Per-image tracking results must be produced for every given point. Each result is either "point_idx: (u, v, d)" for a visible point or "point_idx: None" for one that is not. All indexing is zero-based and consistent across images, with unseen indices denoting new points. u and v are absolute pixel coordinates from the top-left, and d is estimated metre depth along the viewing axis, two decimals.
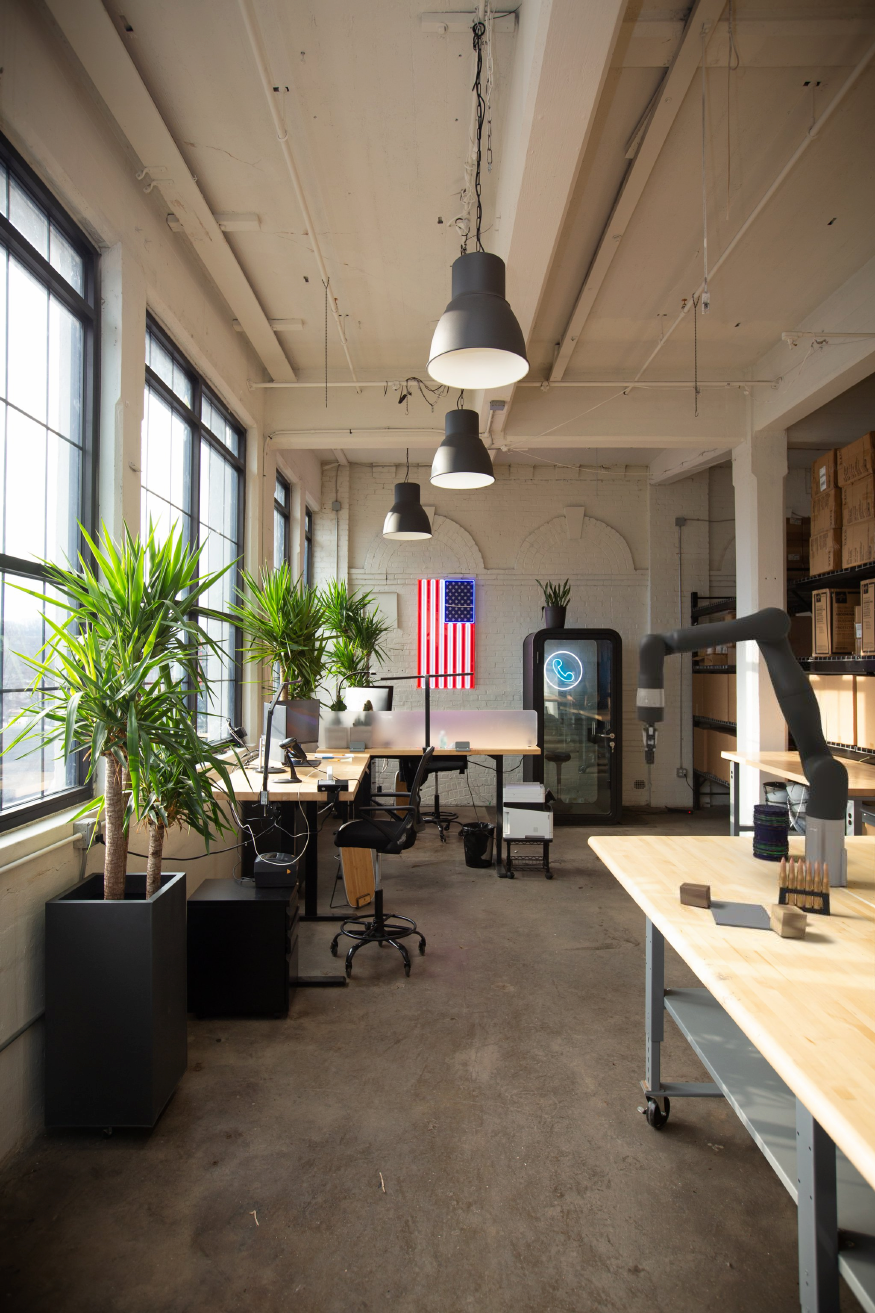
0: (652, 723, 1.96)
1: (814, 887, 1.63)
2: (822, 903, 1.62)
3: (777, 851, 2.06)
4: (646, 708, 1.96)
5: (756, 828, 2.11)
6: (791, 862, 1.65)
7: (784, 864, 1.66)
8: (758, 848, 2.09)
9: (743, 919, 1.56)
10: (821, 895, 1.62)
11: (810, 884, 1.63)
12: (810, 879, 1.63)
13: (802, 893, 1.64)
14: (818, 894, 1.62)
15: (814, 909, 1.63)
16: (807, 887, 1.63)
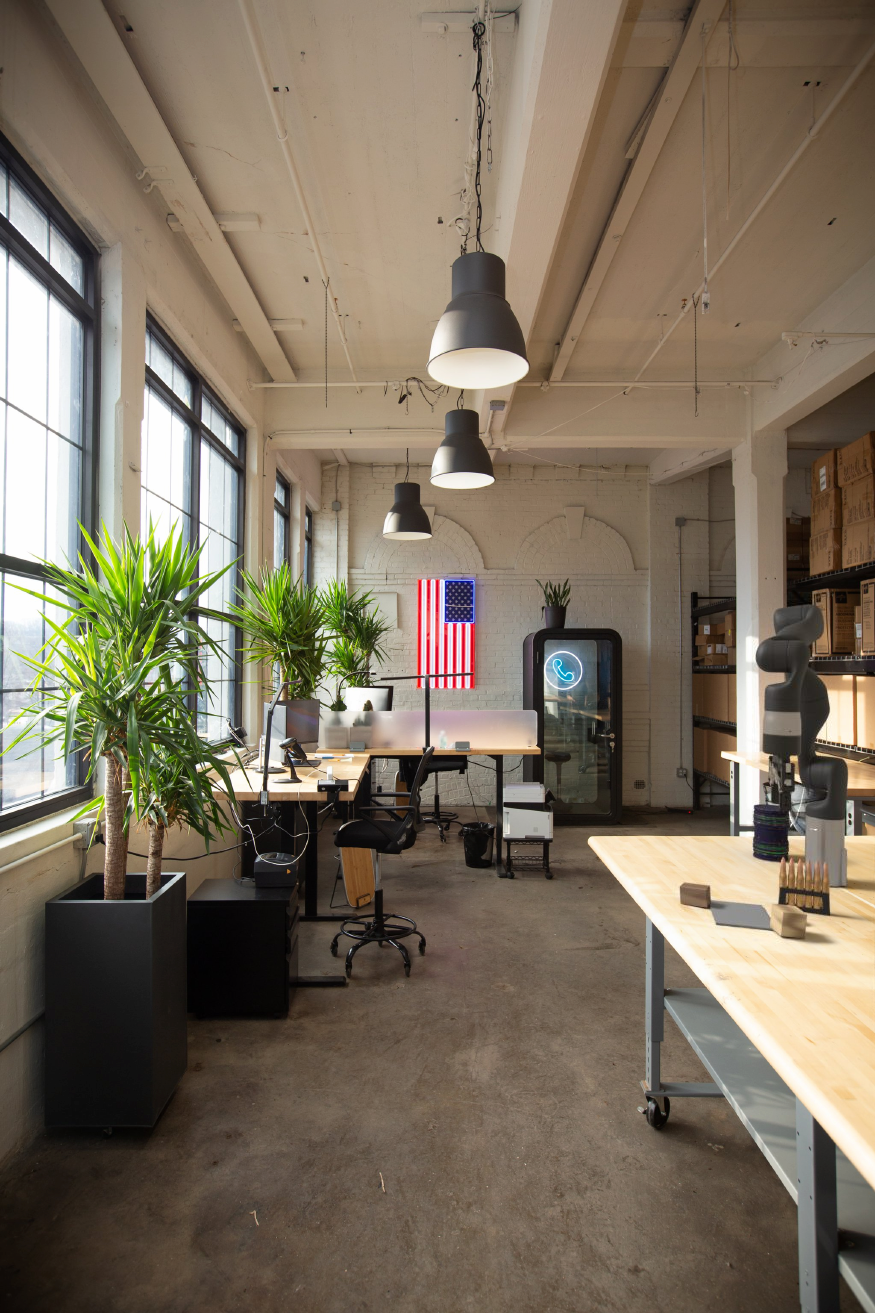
0: (787, 757, 1.50)
1: (814, 887, 1.63)
2: (822, 903, 1.62)
3: (777, 851, 2.06)
4: (779, 738, 1.50)
5: (756, 828, 2.11)
6: (791, 862, 1.65)
7: (784, 864, 1.66)
8: (758, 848, 2.09)
9: (743, 919, 1.56)
10: (821, 895, 1.62)
11: (810, 884, 1.63)
12: (810, 879, 1.63)
13: (802, 893, 1.64)
14: (818, 894, 1.62)
15: (814, 909, 1.63)
16: (807, 887, 1.63)
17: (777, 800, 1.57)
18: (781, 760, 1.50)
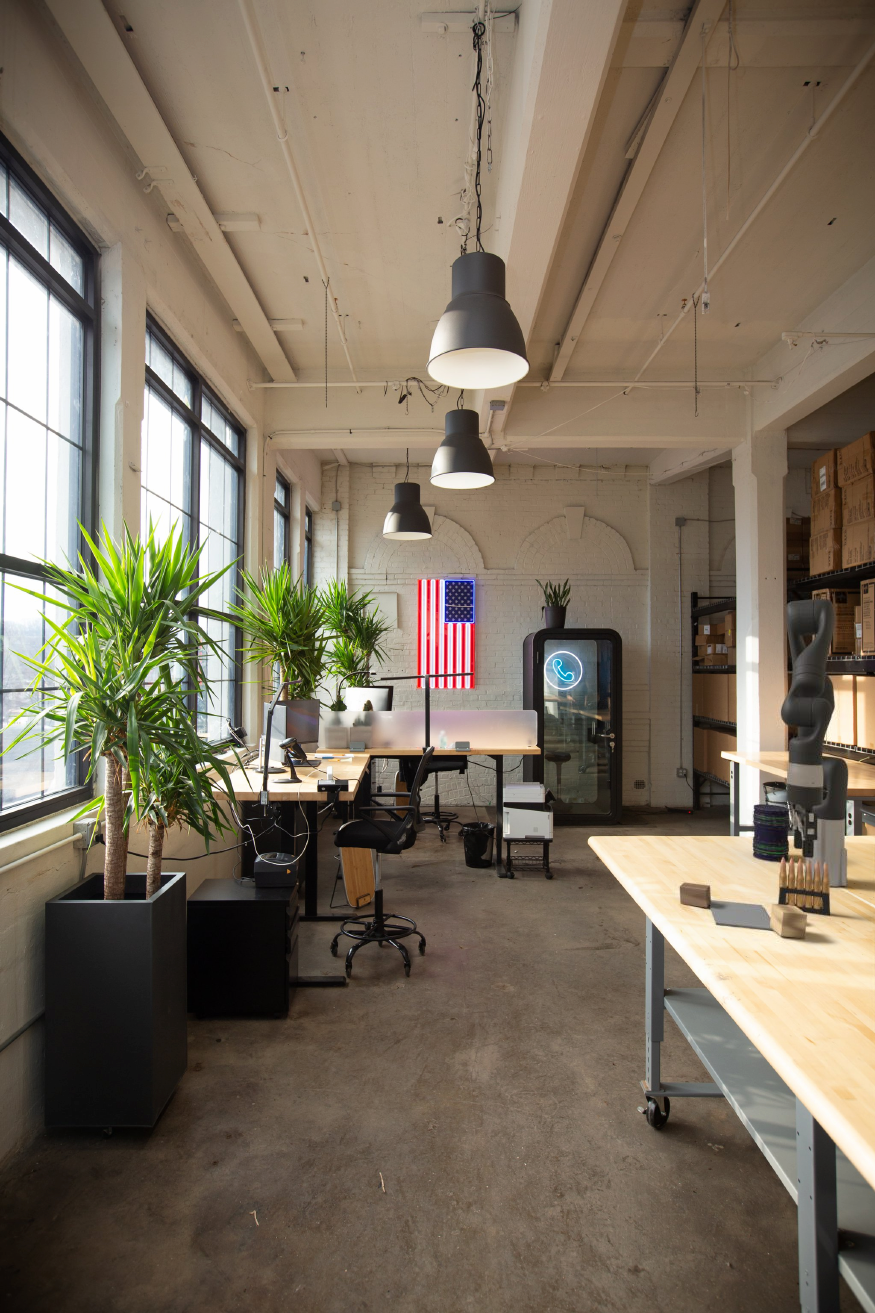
0: (810, 807, 1.61)
1: (814, 887, 1.63)
2: (822, 903, 1.62)
3: (777, 851, 2.06)
4: (803, 789, 1.62)
5: (756, 828, 2.11)
6: (791, 862, 1.65)
7: (784, 864, 1.66)
8: (758, 848, 2.09)
9: (743, 919, 1.56)
10: (821, 895, 1.62)
11: (810, 884, 1.63)
12: (810, 879, 1.63)
13: (802, 893, 1.64)
14: (818, 894, 1.62)
15: (814, 909, 1.63)
16: (807, 887, 1.63)
17: (799, 845, 1.68)
18: (804, 810, 1.61)
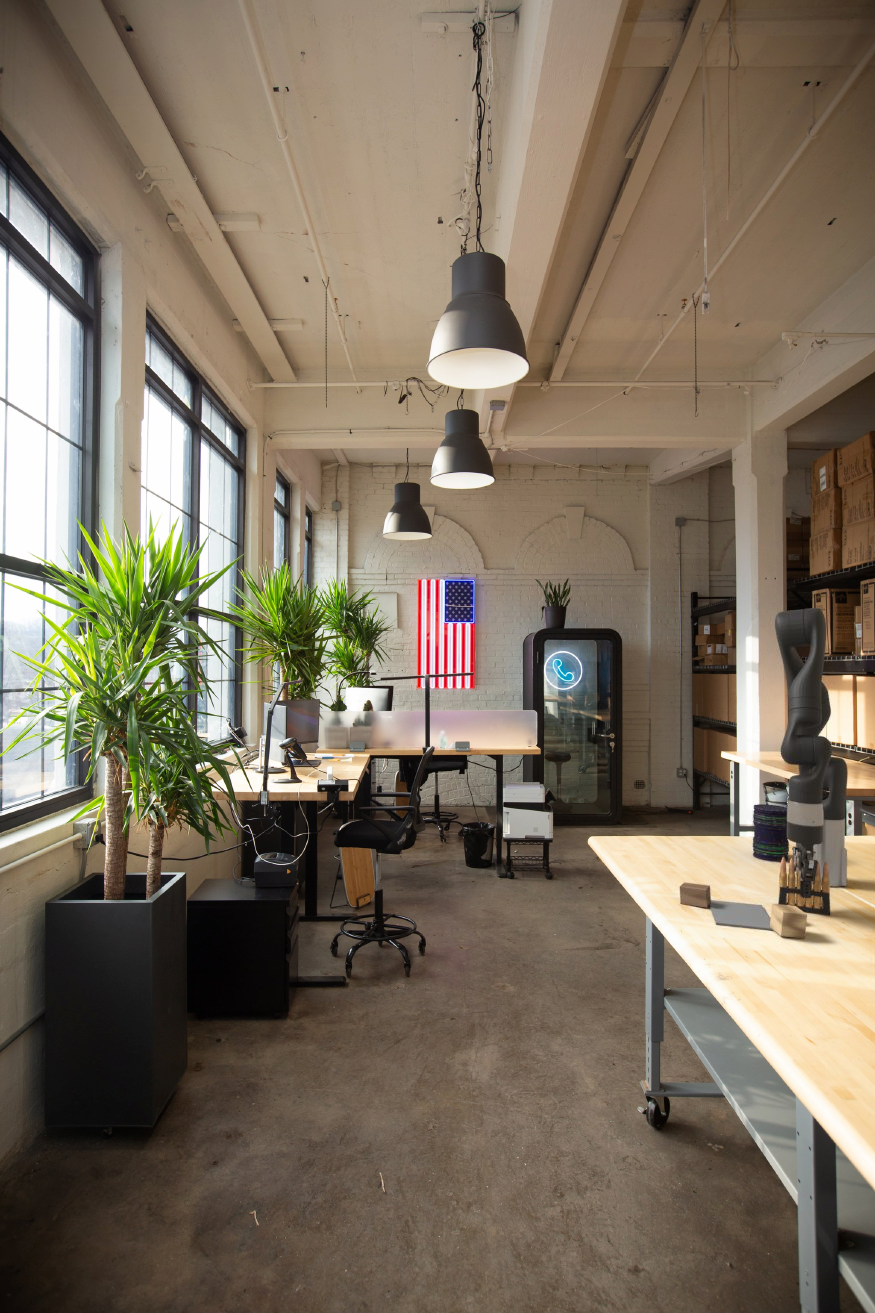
0: (811, 846, 1.61)
1: (814, 887, 1.63)
2: (822, 903, 1.62)
3: (777, 851, 2.06)
4: (803, 828, 1.61)
5: (756, 828, 2.11)
6: (791, 862, 1.65)
7: (784, 864, 1.66)
8: (758, 848, 2.09)
9: (743, 919, 1.56)
10: (821, 895, 1.62)
11: None
12: None
13: None
14: (818, 893, 1.62)
15: (814, 909, 1.63)
16: None
17: None
18: (805, 849, 1.61)
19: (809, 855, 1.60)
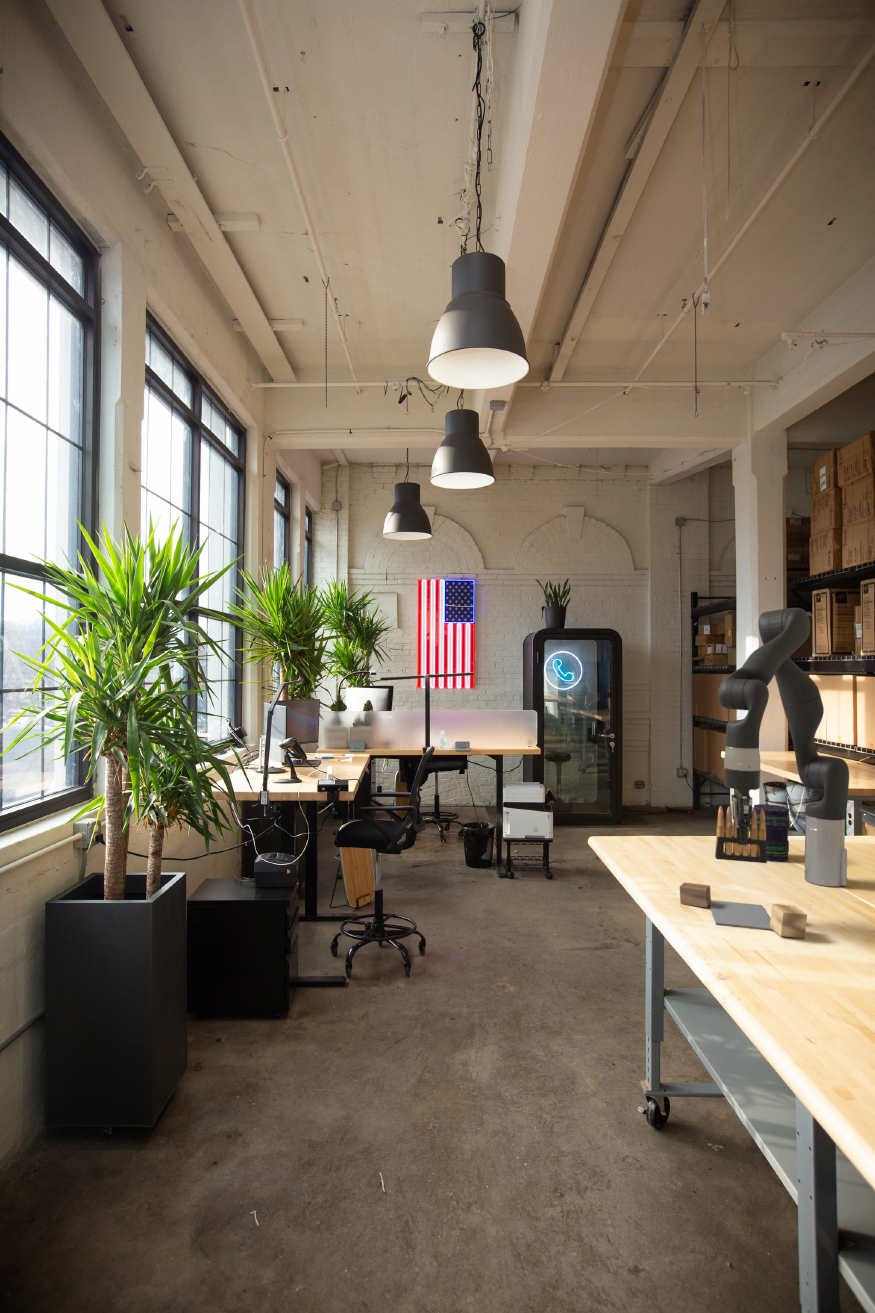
0: (747, 791, 1.57)
1: (751, 835, 1.60)
2: (759, 851, 1.59)
3: (777, 851, 2.06)
4: (739, 773, 1.58)
5: None
6: (728, 810, 1.61)
7: (721, 813, 1.61)
8: None
9: (743, 919, 1.56)
10: (758, 842, 1.59)
11: None
12: None
13: None
14: (755, 841, 1.59)
15: (751, 857, 1.59)
16: None
17: None
18: (741, 794, 1.57)
19: (744, 800, 1.56)
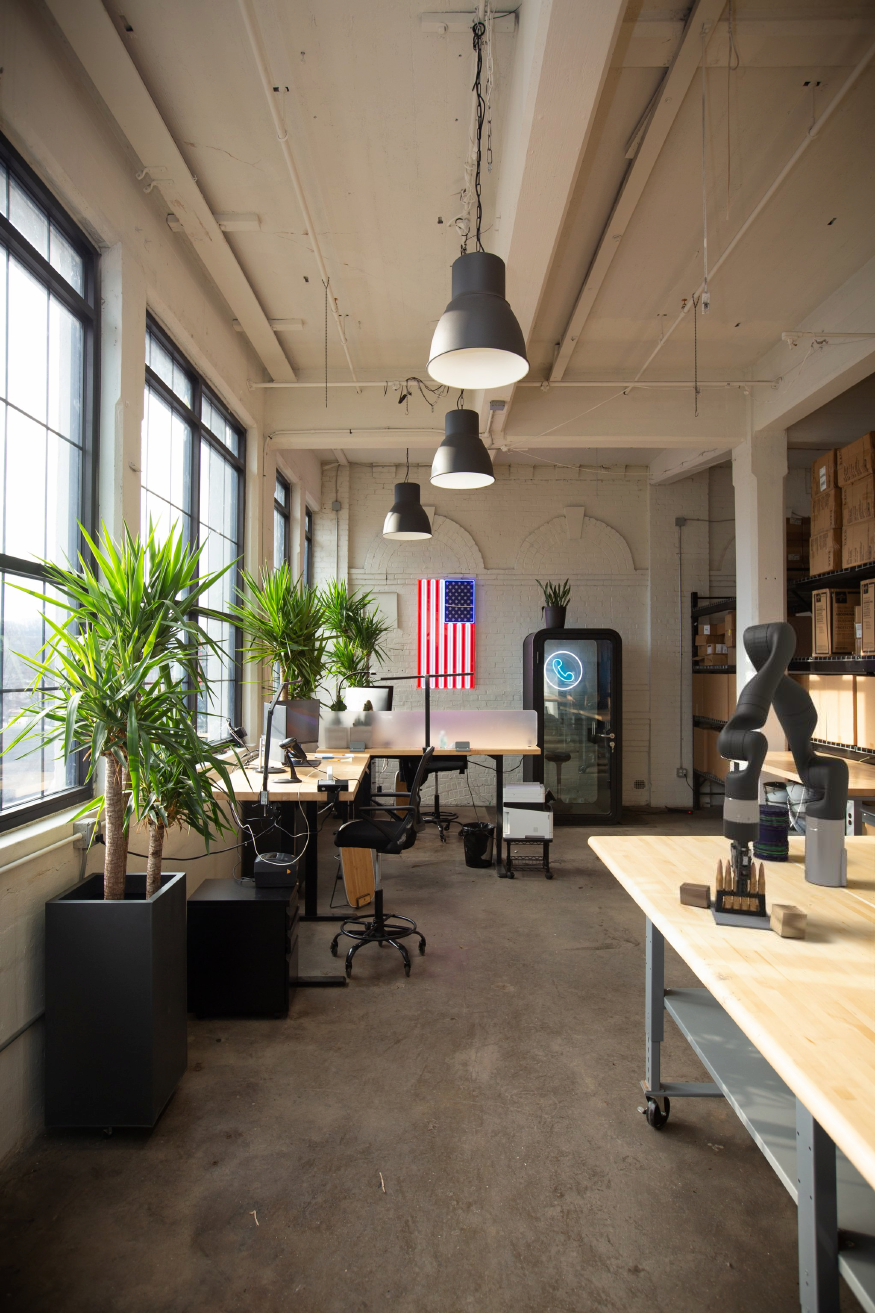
0: (746, 843, 1.57)
1: (750, 888, 1.59)
2: (758, 904, 1.59)
3: (777, 851, 2.06)
4: (738, 825, 1.57)
5: None
6: (728, 864, 1.61)
7: (721, 866, 1.61)
8: (758, 848, 2.09)
9: (743, 919, 1.56)
10: (757, 896, 1.59)
11: None
12: None
13: None
14: (754, 895, 1.59)
15: (750, 911, 1.59)
16: None
17: None
18: (740, 846, 1.57)
19: (744, 852, 1.56)
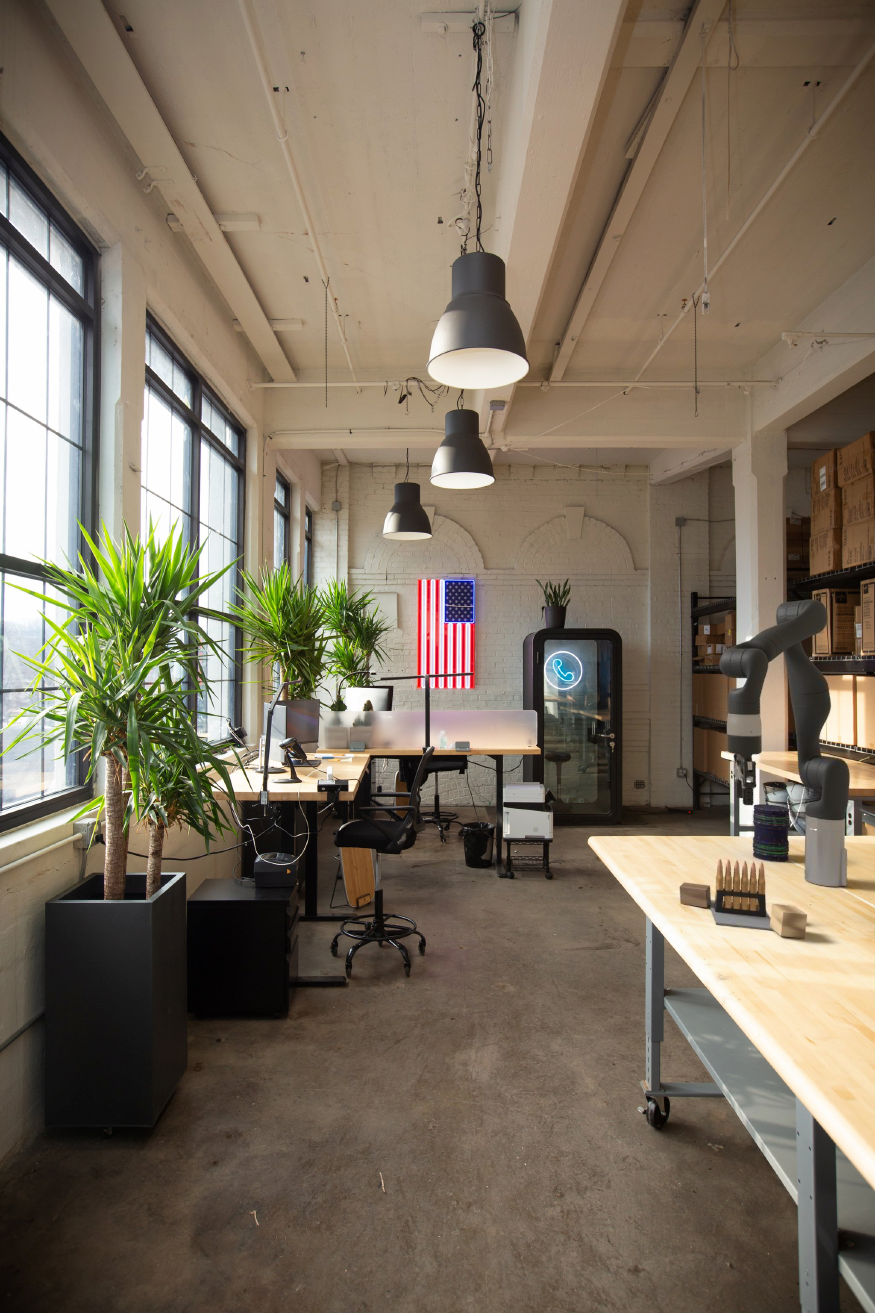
0: (749, 756, 1.63)
1: (750, 888, 1.59)
2: (758, 904, 1.59)
3: (777, 851, 2.06)
4: (742, 738, 1.64)
5: (756, 828, 2.11)
6: (728, 864, 1.61)
7: (721, 866, 1.61)
8: (758, 848, 2.09)
9: (743, 919, 1.56)
10: (757, 896, 1.59)
11: (746, 886, 1.59)
12: (746, 880, 1.59)
13: (739, 895, 1.60)
14: (754, 895, 1.59)
15: (750, 911, 1.59)
16: (744, 889, 1.60)
17: (742, 795, 1.71)
18: (744, 759, 1.64)
19: (747, 761, 1.63)
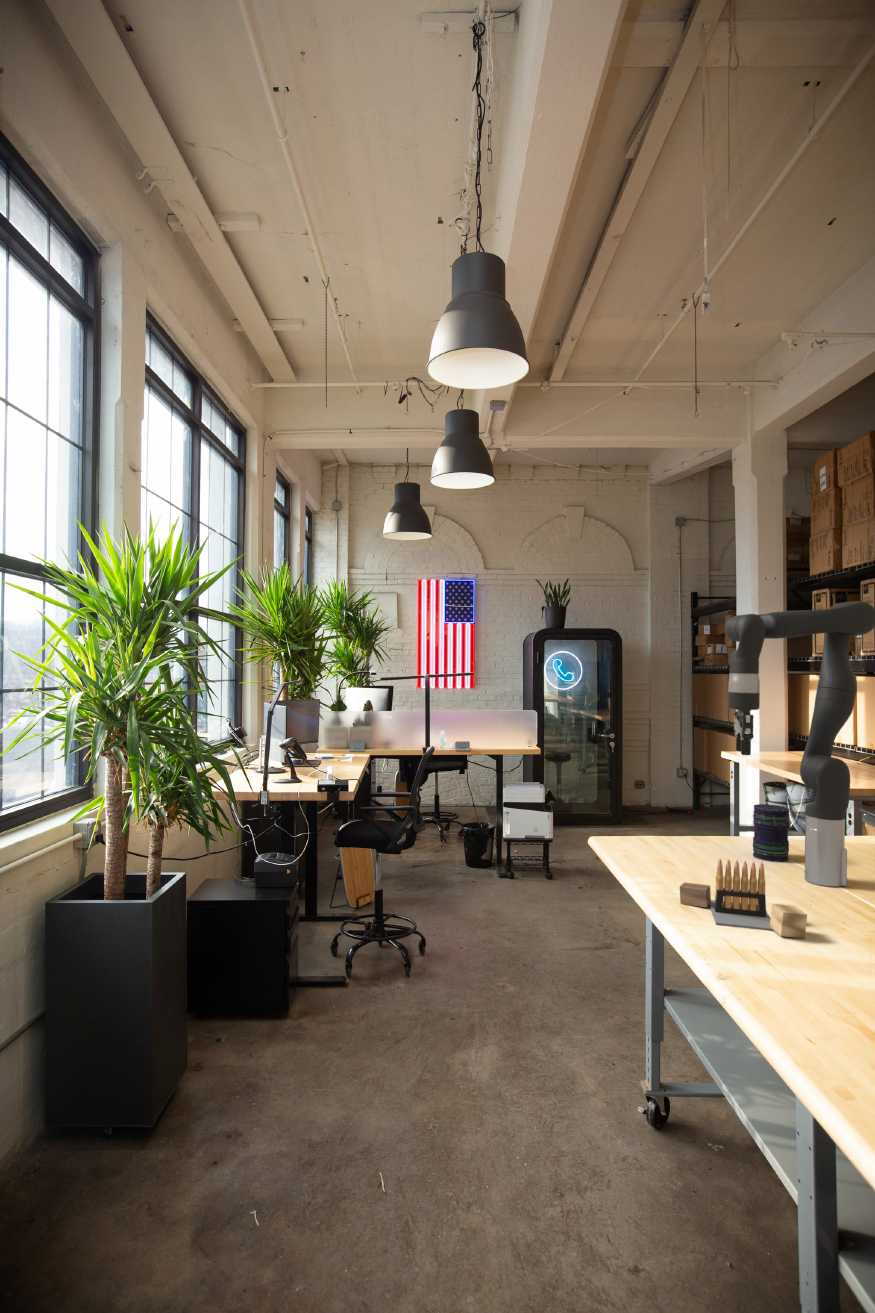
0: (748, 711, 1.80)
1: (750, 888, 1.59)
2: (758, 904, 1.59)
3: (777, 851, 2.06)
4: (741, 695, 1.81)
5: (756, 828, 2.11)
6: (728, 864, 1.61)
7: (721, 866, 1.61)
8: (758, 848, 2.09)
9: (743, 919, 1.56)
10: (757, 896, 1.59)
11: (746, 886, 1.59)
12: (746, 880, 1.59)
13: (739, 895, 1.60)
14: (754, 895, 1.59)
15: (750, 911, 1.59)
16: (744, 889, 1.60)
17: (741, 748, 1.88)
18: (743, 713, 1.81)
19: (746, 715, 1.80)
